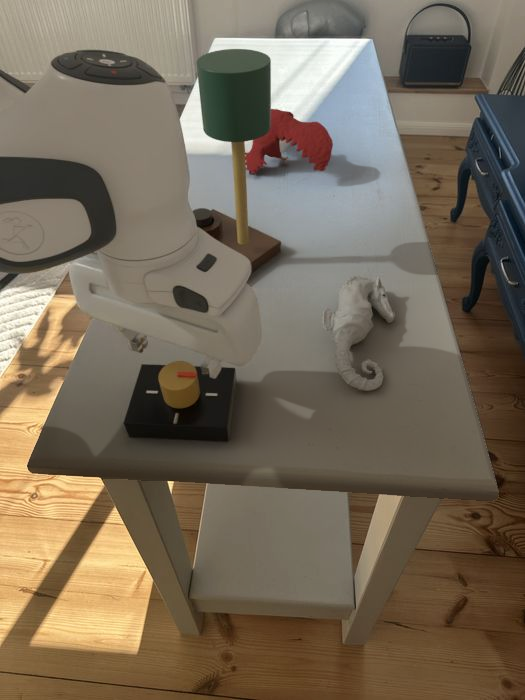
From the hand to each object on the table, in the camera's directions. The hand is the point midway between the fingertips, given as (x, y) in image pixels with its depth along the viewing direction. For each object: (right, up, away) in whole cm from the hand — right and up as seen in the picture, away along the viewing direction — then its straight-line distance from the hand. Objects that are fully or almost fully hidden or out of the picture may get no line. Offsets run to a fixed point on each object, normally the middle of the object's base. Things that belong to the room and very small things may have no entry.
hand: (174, 359), depth 54 cm
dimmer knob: (0, -4, +4) cm, 6 cm away
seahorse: (+23, +3, +14) cm, 28 cm away
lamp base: (+3, +18, +29) cm, 34 cm away
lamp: (+7, +19, +24) cm, 31 cm away
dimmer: (0, -6, +7) cm, 9 cm away
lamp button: (-1, +23, +28) cm, 36 cm away
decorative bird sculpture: (+12, +41, +50) cm, 65 cm away
